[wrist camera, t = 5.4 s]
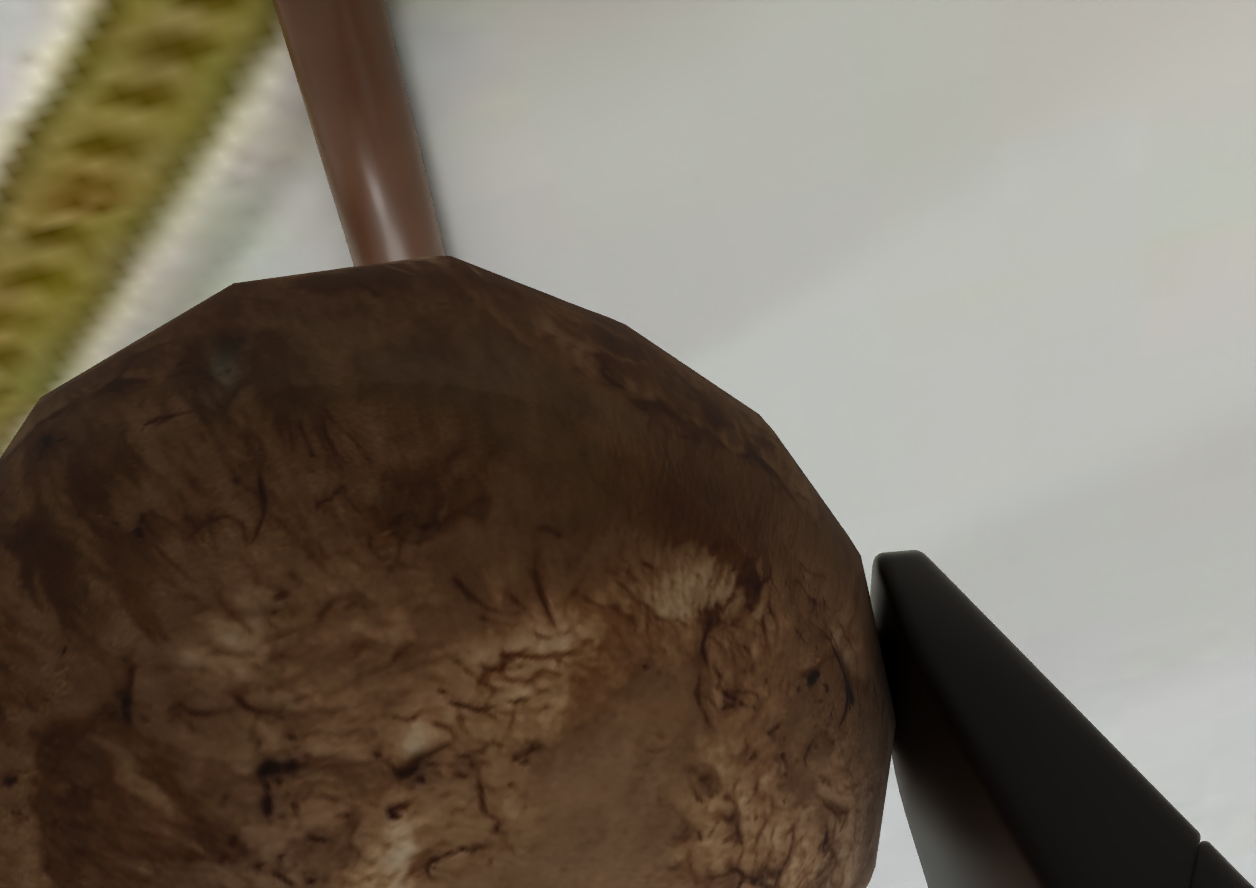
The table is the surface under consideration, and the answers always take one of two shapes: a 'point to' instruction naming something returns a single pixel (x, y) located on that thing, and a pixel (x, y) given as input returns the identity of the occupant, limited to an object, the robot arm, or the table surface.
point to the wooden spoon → (362, 126)
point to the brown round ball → (425, 609)
